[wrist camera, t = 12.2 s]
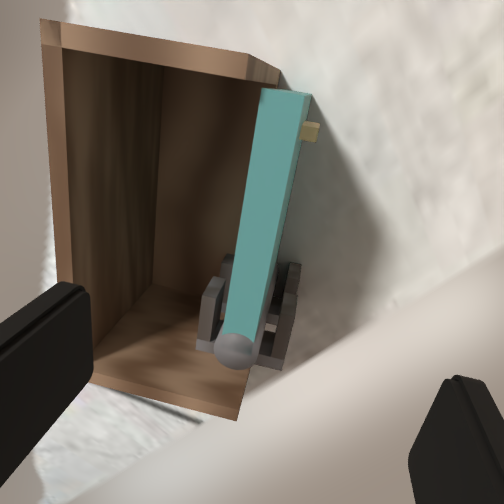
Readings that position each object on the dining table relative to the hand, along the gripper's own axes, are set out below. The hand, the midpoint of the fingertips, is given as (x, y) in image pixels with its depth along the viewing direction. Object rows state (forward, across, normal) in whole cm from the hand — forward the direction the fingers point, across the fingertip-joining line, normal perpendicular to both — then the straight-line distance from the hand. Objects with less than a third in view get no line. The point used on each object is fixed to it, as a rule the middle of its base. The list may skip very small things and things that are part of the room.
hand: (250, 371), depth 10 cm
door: (+23, +2, +2) cm, 23 cm away
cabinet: (+23, +6, +3) cm, 23 cm away
